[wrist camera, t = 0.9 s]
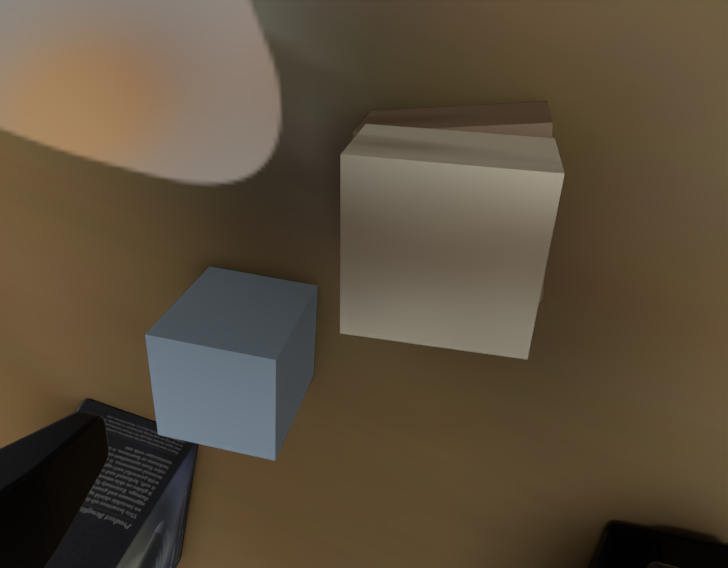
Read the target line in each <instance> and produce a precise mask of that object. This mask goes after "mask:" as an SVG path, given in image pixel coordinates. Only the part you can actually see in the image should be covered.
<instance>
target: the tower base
mask: <svg viewBox="0 0 728 568" xmlns="http://www.w3.org/2000/svg"><path fill="white" fill-rule="evenodd" d="M365 124H375V125H388V126H401V127H414V128H427V129H440V130H453V131H466V132H479V133H492V134H505V135H518V136H531V137H544V138H552V130H553V121H552V118H551V115H550V111H549V108H548V104H547V101H539V102H521V103H503V104H484V105H466V106H448V107H430V108H412V109H393V110H375V111H370V112H369V114H368V115H367V116H366V117H365V118H364V119H363V120H362V122H361V123H360V124H359V125H358V126H357V127H356V129H355V130H354V131H353V139H354V137H355V136H356V135H357V134H358V133H359V131H360V130H361V129H362V128H363V127H364V125H365ZM543 292H544V279H543V284H542V289H541V294H540V299H539V301H543Z"/></svg>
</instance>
